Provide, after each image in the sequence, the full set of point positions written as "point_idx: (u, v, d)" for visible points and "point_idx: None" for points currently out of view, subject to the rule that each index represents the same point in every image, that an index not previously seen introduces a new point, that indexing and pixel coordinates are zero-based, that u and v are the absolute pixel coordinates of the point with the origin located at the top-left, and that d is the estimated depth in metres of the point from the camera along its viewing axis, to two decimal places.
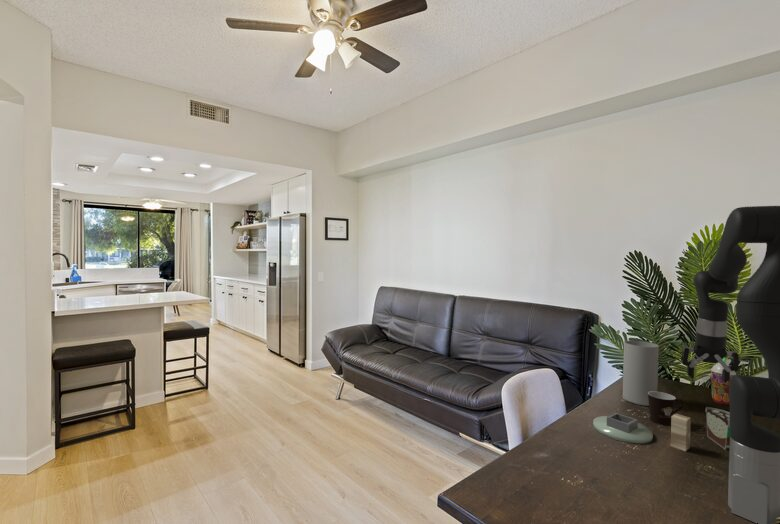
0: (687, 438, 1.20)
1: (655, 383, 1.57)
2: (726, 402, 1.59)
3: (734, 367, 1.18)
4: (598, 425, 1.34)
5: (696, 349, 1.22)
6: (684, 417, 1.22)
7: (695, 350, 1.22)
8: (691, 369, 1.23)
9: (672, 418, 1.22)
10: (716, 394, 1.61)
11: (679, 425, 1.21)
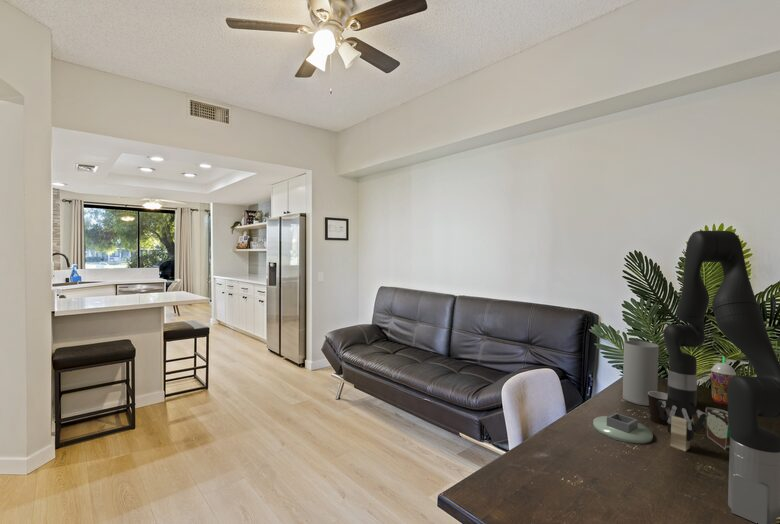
0: None
1: (655, 383, 1.57)
2: (726, 402, 1.59)
3: (696, 426, 1.18)
4: (598, 425, 1.34)
5: (666, 401, 1.25)
6: None
7: (666, 402, 1.25)
8: (670, 425, 1.24)
9: (672, 418, 1.22)
10: (716, 394, 1.61)
11: (679, 425, 1.21)
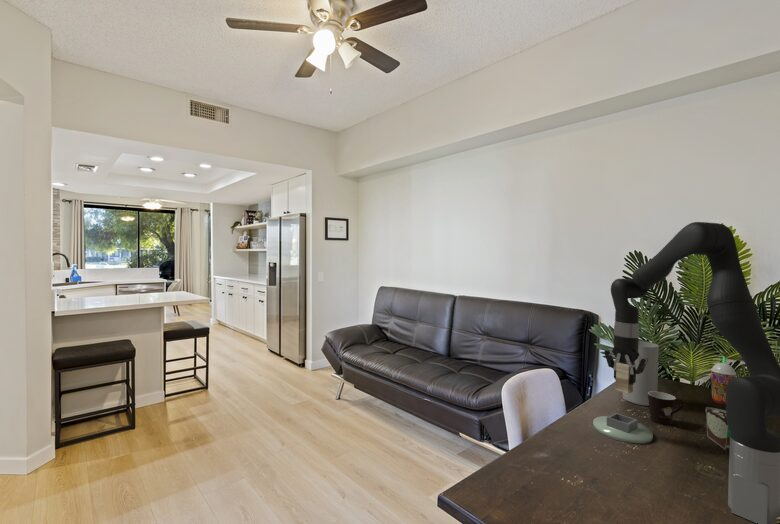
0: None
1: (655, 383, 1.57)
2: None
3: (637, 370, 1.29)
4: (598, 425, 1.34)
5: (612, 350, 1.35)
6: None
7: (612, 351, 1.35)
8: (615, 372, 1.34)
9: (617, 364, 1.33)
10: (716, 394, 1.61)
11: (623, 370, 1.32)
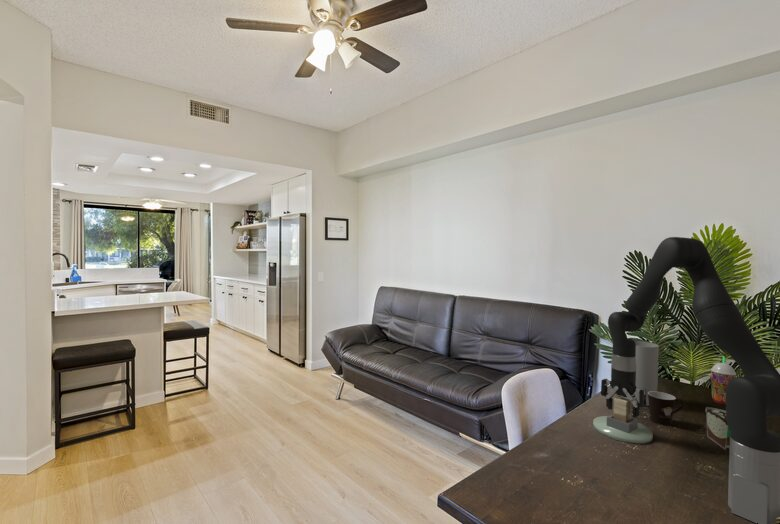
0: (627, 418, 1.31)
1: (655, 383, 1.57)
2: None
3: (640, 403, 1.27)
4: (598, 425, 1.34)
5: (610, 381, 1.35)
6: (625, 399, 1.33)
7: (610, 382, 1.36)
8: (608, 400, 1.36)
9: (614, 400, 1.33)
10: (716, 394, 1.61)
11: (620, 406, 1.32)
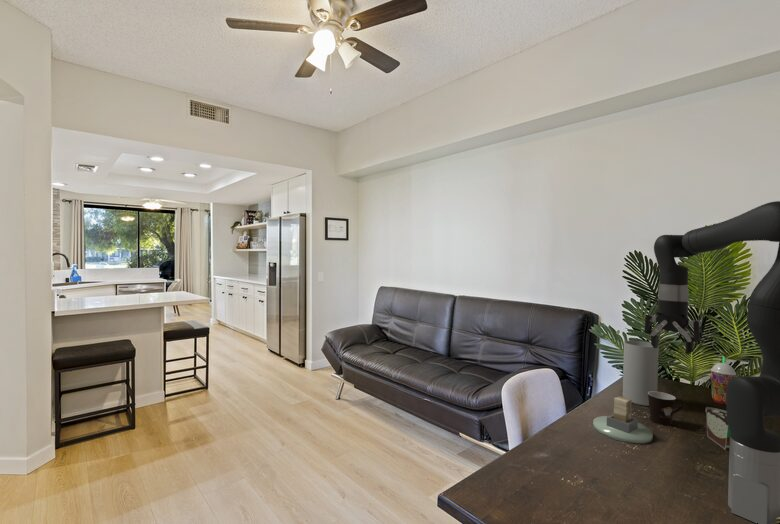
0: (627, 418, 1.31)
1: (655, 383, 1.57)
2: None
3: (695, 337, 1.10)
4: (598, 425, 1.34)
5: (657, 316, 1.18)
6: (625, 399, 1.33)
7: (656, 317, 1.19)
8: (653, 338, 1.19)
9: (614, 400, 1.33)
10: (716, 394, 1.61)
11: (620, 406, 1.32)
